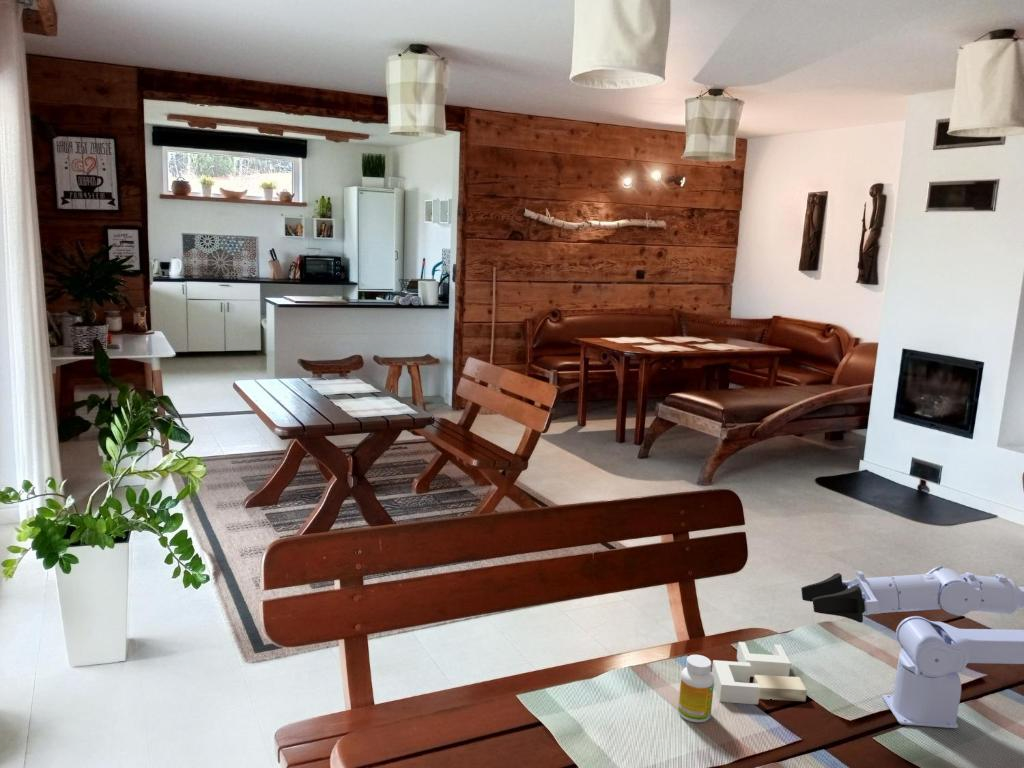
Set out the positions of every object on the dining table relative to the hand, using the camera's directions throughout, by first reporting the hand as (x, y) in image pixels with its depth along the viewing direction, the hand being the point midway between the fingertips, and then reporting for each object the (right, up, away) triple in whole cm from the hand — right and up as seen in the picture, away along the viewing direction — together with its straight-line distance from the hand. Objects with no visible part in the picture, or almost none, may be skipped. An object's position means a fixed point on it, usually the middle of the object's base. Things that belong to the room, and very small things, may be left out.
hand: (807, 599), depth 136 cm
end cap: (-11, -18, +7) cm, 22 cm away
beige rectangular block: (-3, -18, +6) cm, 20 cm away
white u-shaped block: (-3, -16, +14) cm, 22 cm away
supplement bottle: (-19, -19, -1) cm, 27 cm away
